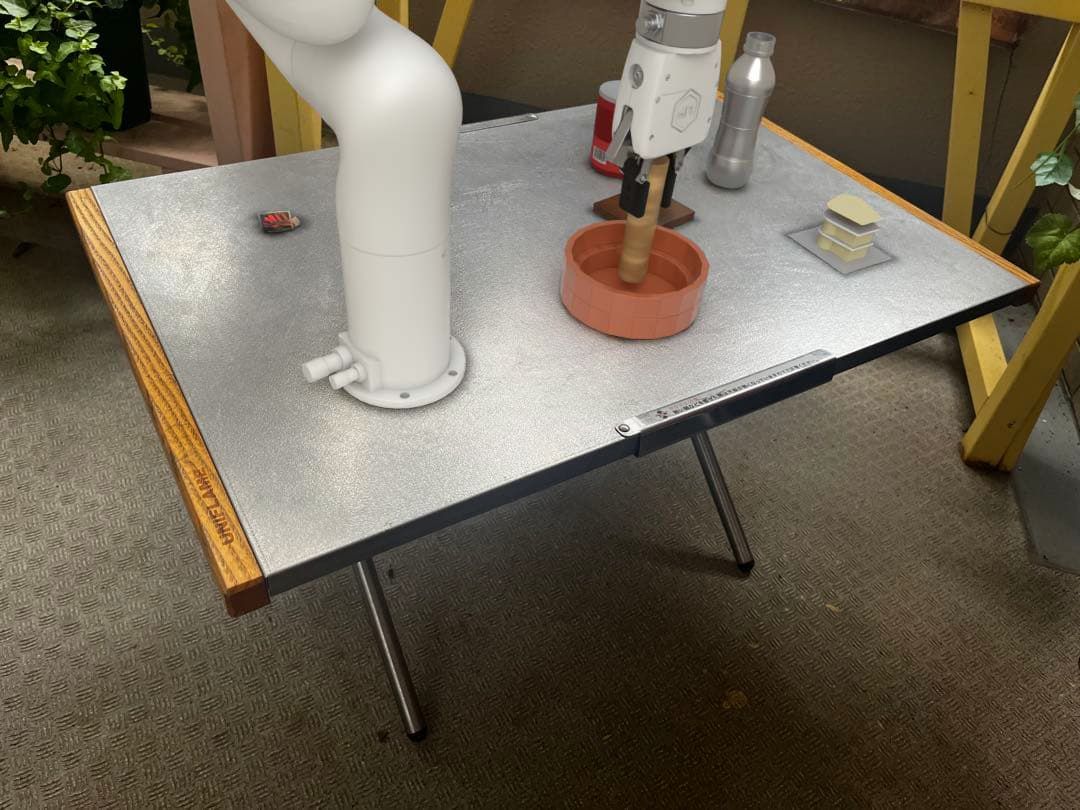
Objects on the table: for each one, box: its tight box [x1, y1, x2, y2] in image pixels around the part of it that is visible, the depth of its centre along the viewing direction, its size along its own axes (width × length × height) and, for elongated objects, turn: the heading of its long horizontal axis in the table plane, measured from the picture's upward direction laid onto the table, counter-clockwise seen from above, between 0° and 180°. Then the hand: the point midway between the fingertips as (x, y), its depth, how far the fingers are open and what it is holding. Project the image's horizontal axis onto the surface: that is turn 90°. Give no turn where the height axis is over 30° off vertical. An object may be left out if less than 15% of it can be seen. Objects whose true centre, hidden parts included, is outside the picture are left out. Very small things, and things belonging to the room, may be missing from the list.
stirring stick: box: [618, 155, 670, 283], centre depth 86 cm, size 3×3×14 cm
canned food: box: [590, 79, 638, 179], centre depth 112 cm, size 8×8×11 cm
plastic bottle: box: [705, 31, 777, 189], centre depth 108 cm, size 6×7×20 cm
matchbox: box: [256, 210, 302, 234], centre depth 97 cm, size 5×5×1 cm
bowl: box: [559, 220, 710, 340], centre depth 89 cm, size 16×16×6 cm
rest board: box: [592, 192, 696, 230], centre depth 105 cm, size 10×9×1 cm
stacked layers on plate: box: [787, 193, 893, 275], centre depth 102 cm, size 10×9×6 cm
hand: (644, 206), depth 85 cm, fingers closed on stirring stick, 3 cm apart
